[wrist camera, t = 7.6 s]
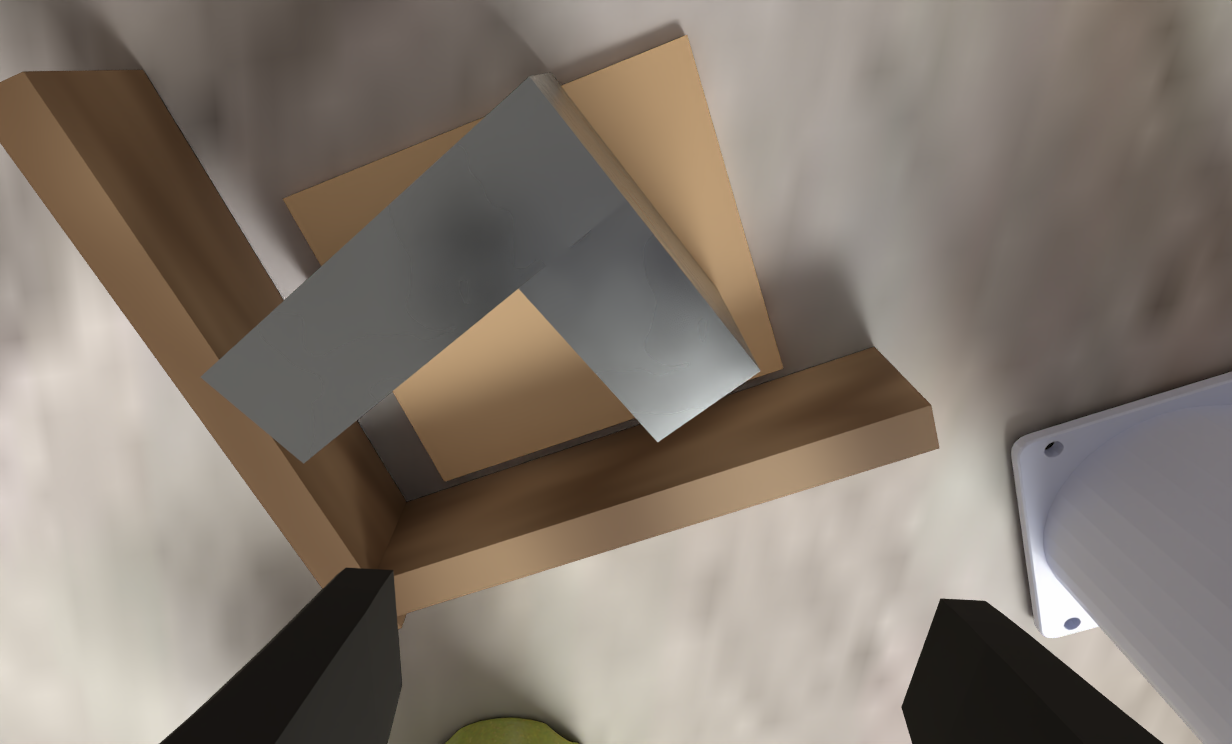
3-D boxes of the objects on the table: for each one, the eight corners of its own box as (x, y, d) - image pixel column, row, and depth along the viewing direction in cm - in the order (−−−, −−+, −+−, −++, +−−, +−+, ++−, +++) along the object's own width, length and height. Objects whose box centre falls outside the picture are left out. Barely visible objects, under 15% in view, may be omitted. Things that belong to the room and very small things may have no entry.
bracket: (550, 72, 15) (528, 76, 10) (717, 288, 17) (760, 370, 12) (307, 291, 17) (200, 376, 12) (485, 460, 19) (449, 585, 14)
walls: (752, -202, 13) (800, -284, 10) (885, 396, 19) (942, 461, 16) (97, 90, 15) (-34, 96, 12) (395, 554, 21) (359, 640, 18)
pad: (685, 35, 15) (686, 34, 15) (780, 363, 18) (783, 368, 18) (287, 196, 16) (282, 198, 16) (446, 476, 19) (444, 481, 19)
